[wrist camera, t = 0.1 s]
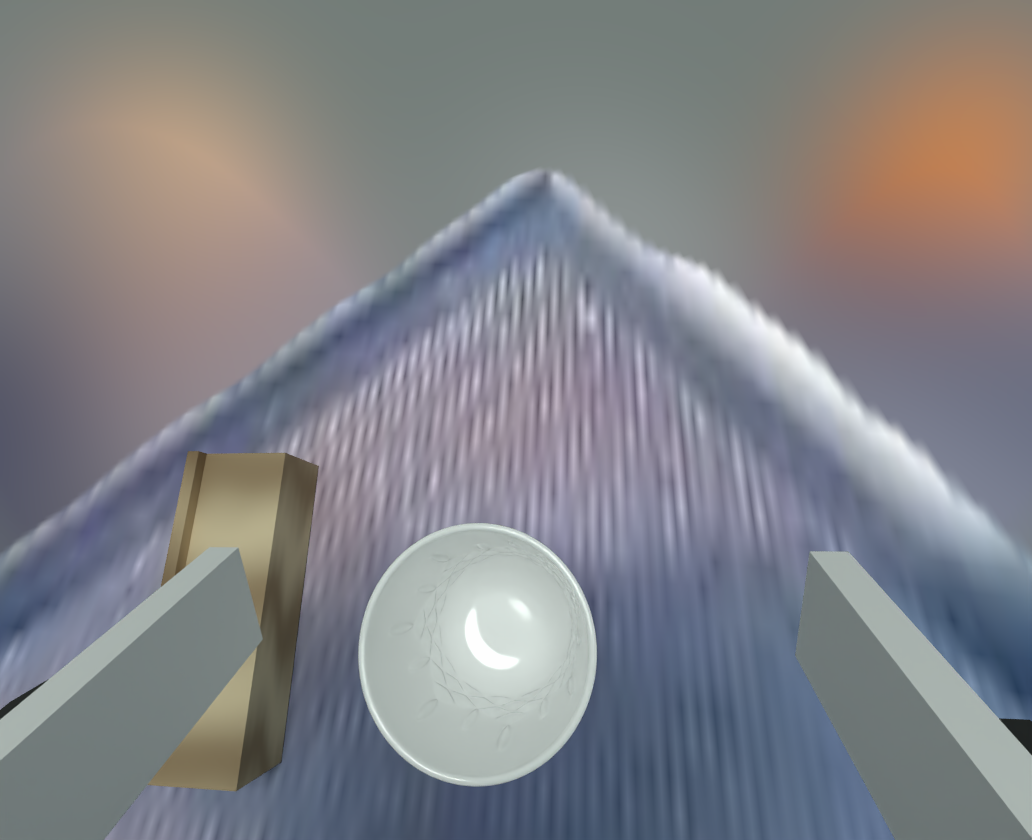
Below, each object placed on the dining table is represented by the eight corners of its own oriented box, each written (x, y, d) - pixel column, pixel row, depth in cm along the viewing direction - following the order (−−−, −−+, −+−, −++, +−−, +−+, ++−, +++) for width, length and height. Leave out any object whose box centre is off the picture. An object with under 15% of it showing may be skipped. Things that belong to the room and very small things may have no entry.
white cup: (616, 666, 25) (640, 725, 15) (468, 730, 25) (401, 831, 15) (551, 515, 27) (537, 487, 18) (416, 575, 27) (329, 577, 18)
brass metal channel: (281, 762, 25) (227, 797, 22) (189, 756, 26) (120, 789, 22) (318, 466, 30) (279, 450, 26) (238, 466, 30) (188, 451, 26)
